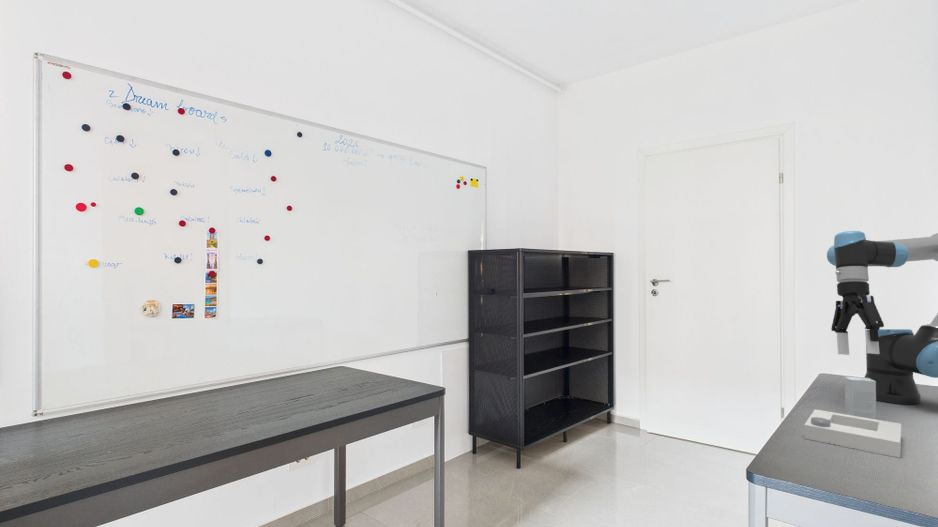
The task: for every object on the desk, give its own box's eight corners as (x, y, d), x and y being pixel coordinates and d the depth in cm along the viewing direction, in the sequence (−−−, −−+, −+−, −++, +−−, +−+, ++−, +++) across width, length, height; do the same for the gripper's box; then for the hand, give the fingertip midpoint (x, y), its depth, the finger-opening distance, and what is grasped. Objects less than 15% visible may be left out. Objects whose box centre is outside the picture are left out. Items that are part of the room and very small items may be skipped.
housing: (814, 421, 134) (814, 405, 134) (901, 437, 121) (901, 419, 121) (804, 438, 121) (804, 419, 121) (900, 458, 108) (900, 437, 108)
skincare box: (869, 419, 136) (869, 377, 136) (876, 424, 132) (876, 381, 132) (844, 417, 138) (843, 376, 138) (850, 422, 134) (850, 379, 134)
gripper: (816, 287, 156) (819, 353, 152) (865, 274, 132) (871, 352, 128) (841, 289, 155) (846, 355, 150) (896, 275, 130) (903, 354, 126)
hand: (857, 354), depth 139 cm, fingers open, 13 cm apart
